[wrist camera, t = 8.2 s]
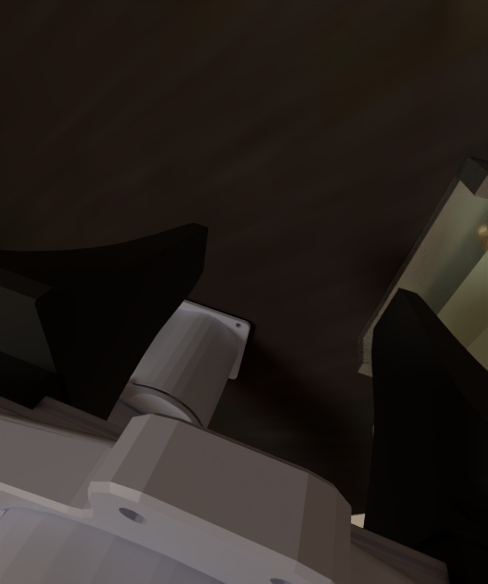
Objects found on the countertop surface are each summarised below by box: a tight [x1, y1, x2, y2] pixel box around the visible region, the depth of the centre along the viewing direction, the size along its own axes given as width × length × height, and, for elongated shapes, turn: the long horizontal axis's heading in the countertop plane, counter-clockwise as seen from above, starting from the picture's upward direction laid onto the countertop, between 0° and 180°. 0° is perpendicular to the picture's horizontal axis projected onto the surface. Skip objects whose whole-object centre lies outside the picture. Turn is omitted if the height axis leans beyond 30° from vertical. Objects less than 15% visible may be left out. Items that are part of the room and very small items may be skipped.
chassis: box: [358, 156, 488, 377], centre depth 18 cm, size 14×9×4 cm, turn 170°
